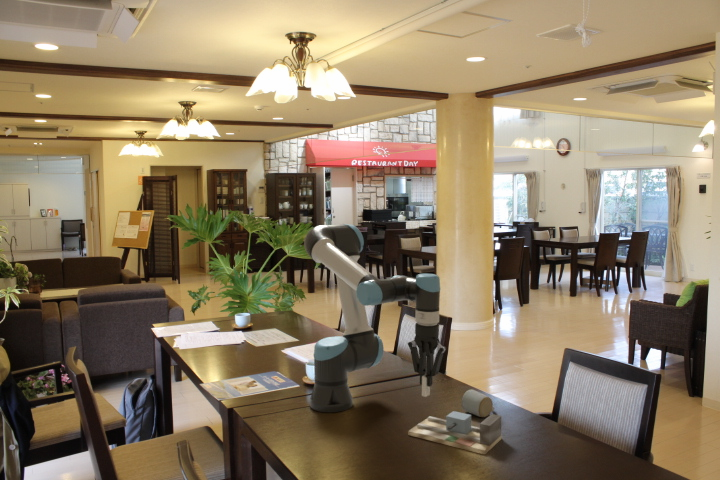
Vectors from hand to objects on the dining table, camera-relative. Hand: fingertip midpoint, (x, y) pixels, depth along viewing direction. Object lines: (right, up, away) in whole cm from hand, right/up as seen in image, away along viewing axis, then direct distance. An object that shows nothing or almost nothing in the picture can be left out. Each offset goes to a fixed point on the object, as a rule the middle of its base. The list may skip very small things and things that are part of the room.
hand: (425, 395), depth 185 cm
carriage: (+8, -9, -10) cm, 16 cm away
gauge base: (+8, -10, -9) cm, 16 cm away
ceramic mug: (+19, -9, +10) cm, 23 cm away
